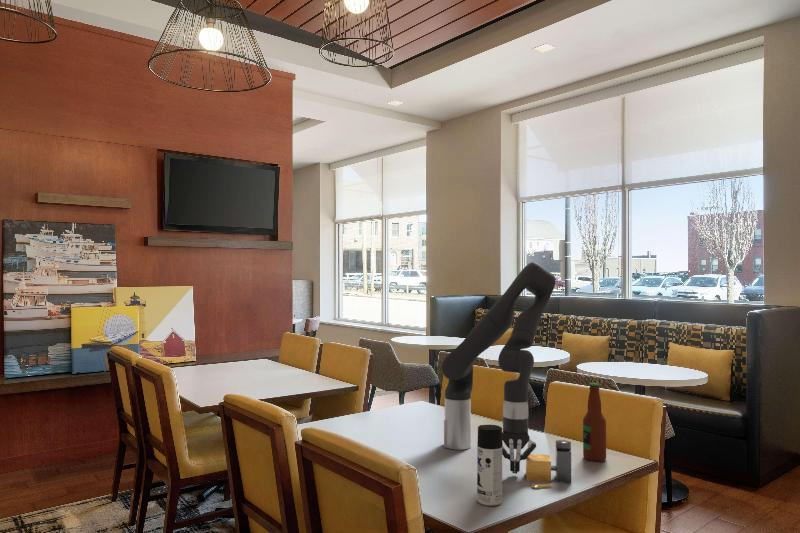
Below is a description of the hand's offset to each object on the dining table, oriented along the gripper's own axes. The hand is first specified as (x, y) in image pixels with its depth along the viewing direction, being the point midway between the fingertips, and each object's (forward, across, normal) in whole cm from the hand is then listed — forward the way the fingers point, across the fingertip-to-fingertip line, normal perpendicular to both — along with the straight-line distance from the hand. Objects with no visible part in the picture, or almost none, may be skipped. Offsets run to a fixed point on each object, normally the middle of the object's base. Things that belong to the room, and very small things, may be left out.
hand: (514, 472), depth 175 cm
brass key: (+1, +8, -8) cm, 11 cm away
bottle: (+1, +26, +22) cm, 34 cm away
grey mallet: (+1, +10, 0) cm, 10 cm away
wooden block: (+1, +7, 0) cm, 7 cm away
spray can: (+2, -7, -22) cm, 23 cm away
